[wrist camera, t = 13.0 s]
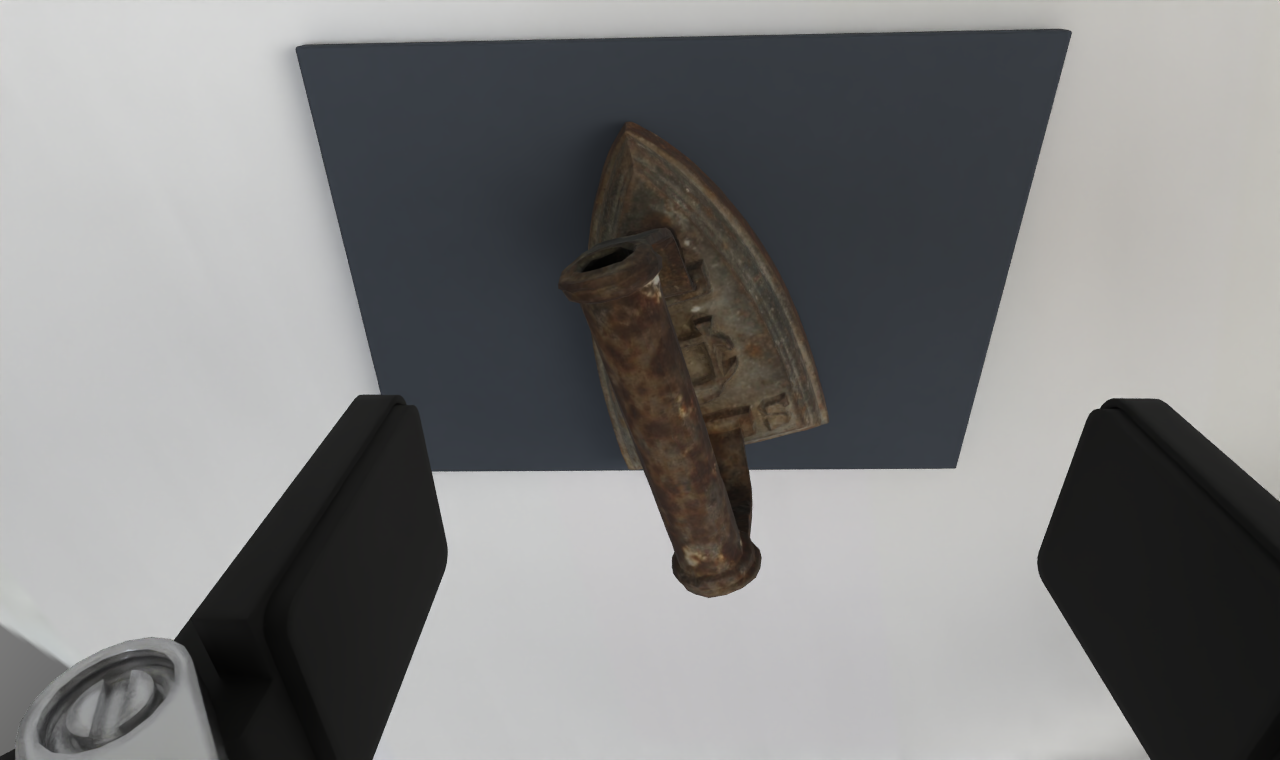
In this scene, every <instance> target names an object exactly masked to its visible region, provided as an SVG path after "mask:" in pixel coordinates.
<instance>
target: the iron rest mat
mask: <svg viewBox="0 0 1280 760" xmlns="http://www.w3.org/2000/svg"><path fill="white" fill-rule="evenodd" d="M1071 34H1072V33H1071V31H1069V30H1064V29H1036V30H988V31H940V32H892V33H844V34H796V35H749V36H701V37H653V38H605V39H557V40H509V41H461V42H414V43H366V44H318V45H302V46H298V47H296V53H297V57H298V61H299V65H300V69H301V73H302V77H303V81H304V86H305V90H306V94H307V98H308V102H309V106H310V110H311V114H312V118H313V122H314V126H315V130H316V134H317V138H318V142H319V146H320V150H321V154H322V158H323V162H324V166H325V170H326V174H327V178H328V182H329V186H330V190H331V195H332V199H333V203H334V207H335V211H336V215H337V219H338V223H339V227H340V231H341V235H342V239H343V243H344V247H345V251H346V255H347V259H348V263H349V267H350V271H351V275H352V279H353V283H354V287H355V291H356V295H357V299H358V304H359V308H360V312H361V316H362V320H363V324H364V328H365V332H366V336H367V340H368V344H369V348H370V352H371V356H372V360H373V364H374V368H375V372H376V376H377V380H378V384H379V388H380V392H381V395H400V396H402V397H403V398H404V400H405V401H406V404H407V405H414V406H416V407H417V409H418V411H419V415H420V419H421V424H422V429H423V433H424V438H425V443H426V448H427V452H428V457H429V462H430V466H431V471H603V470H630V469H628V467H627V465H626V462H625V460H624V458H623V456H622V453H621V450H620V447H619V444H618V442H617V439H616V435H615V432H614V429H613V426H612V423H611V419H610V416H609V413H608V409H607V405H606V402H605V398H604V395H603V391H602V387H601V383H600V379H599V374H598V370H597V365H596V360H595V354H594V349H593V343H592V336H591V330H590V328H589V325H588V323H587V320H586V318H585V315H584V313H583V311H582V308H581V306H580V304H579V303H575V302H571V301H569V300H568V299H567V297H566V296H565V294H564V293H563V291H562V290H561V289H558V283H559V279H560V276H561V273H562V271H563V270H564V269H565V268H566V267H567V266H568V265H570V264H571V263H572V262H574V261H575V260H576V259H577V258H578V257H579V256H580V255H581V254H582V253H584V252H586V251H588V243H589V234H590V224H591V218H592V211H593V206H594V200H595V197H596V193H597V190H598V186H599V182H600V178H601V174H602V169H603V166H604V163H605V160H606V158H607V155H608V153H609V150H610V148H611V146H612V144H613V142H614V140H615V139H616V137H617V135H618V133H619V132H620V130H621V128H622V127H623V125H624V123H625V122H633V123H635V124H638V125H640V126H641V127H643V128H645V129H647V130H649V131H651V132H653V133H654V134H656V135H658V136H659V137H661V138H662V139H664V140H665V141H666V142H668V143H669V144H671V145H672V146H673V147H675V148H676V149H678V150H679V151H680V152H681V153H683V154H684V155H685V156H687V157H688V158H689V159H690V160H691V161H692V162H694V163H695V164H696V165H697V166H698V167H699V168H700V169H701V170H702V171H703V172H704V173H705V174H706V175H707V176H708V177H709V178H710V179H711V180H712V181H713V182H714V183H715V184H716V185H717V186H718V187H719V188H720V189H721V190H722V191H723V193H724V194H725V195H726V196H727V198H728V199H729V200H730V201H731V202H732V203H733V205H734V206H735V207H736V208H737V209H738V211H739V212H740V213H741V214H742V216H743V217H744V218H745V219H746V221H747V222H748V224H749V225H750V227H751V228H752V229H753V231H754V232H755V233H756V235H757V236H758V238H759V239H760V241H761V242H762V244H763V246H764V247H765V249H766V251H767V252H768V254H769V256H770V257H771V259H772V261H773V263H774V264H775V266H776V268H777V269H778V271H779V273H780V275H781V277H782V279H783V281H784V283H785V285H786V287H787V289H788V291H789V294H790V296H791V298H792V301H793V303H794V305H795V308H796V310H797V312H798V315H799V317H800V321H801V323H802V326H803V328H804V331H805V334H806V336H807V339H808V342H809V346H810V349H811V352H812V355H813V358H814V361H815V365H816V368H817V372H818V376H819V379H820V383H821V387H822V390H823V394H824V398H825V403H826V407H827V411H828V416H829V423H827V424H823V425H820V426H818V427H815V428H811V429H808V430H804V431H800V432H795V433H791V434H787V435H784V436H780V437H776V438H772V439H768V440H764V441H760V442H756V443H751V444H746V445H745V450H746V456H747V462H748V468H749V470H773V469H944V468H956V466H957V462H958V458H959V454H960V451H961V447H962V443H963V439H964V436H965V432H966V428H967V424H968V421H969V417H970V413H971V409H972V406H973V402H974V398H975V394H976V391H977V387H978V383H979V379H980V376H981V372H982V368H983V364H984V361H985V357H986V353H987V349H988V346H989V342H990V338H991V334H992V331H993V327H994V323H995V319H996V315H997V312H998V308H999V304H1000V300H1001V297H1002V293H1003V289H1004V285H1005V282H1006V278H1007V274H1008V270H1009V267H1010V263H1011V259H1012V255H1013V252H1014V248H1015V244H1016V240H1017V237H1018V233H1019V229H1020V225H1021V222H1022V218H1023V214H1024V210H1025V207H1026V203H1027V199H1028V195H1029V192H1030V188H1031V184H1032V180H1033V177H1034V173H1035V169H1036V165H1037V162H1038V158H1039V154H1040V150H1041V147H1042V143H1043V139H1044V135H1045V132H1046V128H1047V124H1048V120H1049V117H1050V113H1051V109H1052V105H1053V102H1054V98H1055V94H1056V90H1057V87H1058V83H1059V79H1060V75H1061V72H1062V68H1063V64H1064V60H1065V57H1066V53H1067V49H1068V45H1069V42H1070V38H1071ZM639 470H643V469H639Z"/></svg>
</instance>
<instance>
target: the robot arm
mask: <svg viewBox="0 0 1280 760" xmlns="http://www.w3.org/2000/svg"><path fill="white" fill-rule="evenodd" d="M447 555H448V548H447V542H446V537H445V532H444V528H443V523H442V518H441V513H440V509H439V504H438V499H437V495H436V490H435V485H434V480H433V476H432V471H431V466H430V462H429V457H428V452H427V448H426V443H425V438H424V433H423V429H422V424H421V419H420V415H419V411H418V409H417V407H416V406H414V405H407V404H406V401H405V400H404V398H403V397H402V396H400V395H359V396H357V397H356V398H355V399H354V401H353V402H352V403H351V405H350V406H349V407H348V409H347V410H346V411H345V413H344V414H343V415H342V417H341V418H340V419H339V421H338V422H337V423H336V425H335V426H334V427H333V429H332V430H331V431H330V433H329V434H328V435H327V437H326V438H325V439H324V441H323V442H322V443H321V445H320V446H319V447H318V449H317V450H316V451H315V453H314V454H313V455H312V457H311V458H310V459H309V461H308V462H307V463H306V465H305V466H304V467H303V469H302V470H301V471H300V473H299V474H298V475H297V477H296V478H295V479H294V481H293V482H292V483H291V485H290V486H289V487H288V489H287V490H286V491H285V493H284V494H283V495H282V497H281V498H280V499H279V501H278V502H277V503H276V505H275V506H274V507H273V509H272V510H271V511H270V513H269V514H268V515H267V517H266V518H265V519H264V521H263V522H262V523H261V525H260V526H259V527H258V529H257V530H256V531H255V533H254V534H253V535H252V537H251V538H250V539H249V541H248V542H247V543H246V545H245V546H244V547H243V549H242V550H241V551H240V553H239V554H238V555H237V557H236V558H235V559H234V561H233V562H232V563H231V565H230V566H229V567H228V569H227V570H226V571H225V573H224V574H223V575H222V577H221V578H220V579H219V581H218V582H217V583H216V585H215V586H214V587H213V589H212V590H211V591H210V593H209V594H208V595H207V597H206V598H205V599H204V601H203V602H202V603H201V605H200V606H199V607H198V609H197V610H196V611H195V613H194V614H193V615H192V617H191V618H190V619H189V621H188V622H187V623H186V625H185V626H184V627H183V629H182V630H181V631H180V633H179V634H178V635H177V637H176V638H175V639H174V641H173V640H171V639H165V638H155V637H149V638H142V639H136V640H129V641H126V642H123V643H120V644H117V645H114V646H111V647H108V648H106V649H103V650H101V651H99V652H97V653H95V654H93V655H91V656H89V657H88V658H86V659H84V660H82V661H80V662H78V663H76V664H75V665H74V666H72V667H71V668H70V669H68V670H67V671H66V672H65V673H63V674H62V675H60V676H59V677H58V678H56V679H55V680H53V681H52V683H50V684H49V685H48V686H47V688H46V689H45V690H44V691H43V692H42V693H41V694H40V695H39V696H38V697H37V698H36V699H35V700H34V701H33V702H32V704H31V706H30V707H29V709H28V710H27V712H26V714H25V715H24V717H23V718H22V720H21V722H20V725H19V729H18V733H17V737H16V741H15V749H14V750H12V751H10V752H8V753H6V754H4V755H2V756H0V760H373V757H374V754H375V752H376V749H377V747H378V744H379V741H380V739H381V736H382V734H383V731H384V728H385V726H386V723H387V721H388V718H389V715H390V713H391V710H392V707H393V705H394V702H395V700H396V697H397V694H398V692H399V689H400V687H401V684H402V681H403V679H404V676H405V674H406V671H407V668H408V666H409V663H410V660H411V658H412V655H413V653H414V650H415V647H416V645H417V642H418V640H419V637H420V634H421V632H422V629H423V626H424V624H425V621H426V619H427V616H428V613H429V611H430V608H431V606H432V603H433V600H434V598H435V595H436V593H437V590H438V587H439V585H440V582H441V579H442V577H443V574H444V572H445V568H446V564H447ZM1037 564H1038V571H1039V575H1040V577H1041V579H1042V582H1043V583H1044V585H1045V587H1046V588H1047V590H1048V591H1049V593H1050V595H1051V596H1052V598H1053V600H1054V601H1055V603H1056V605H1057V606H1058V608H1059V610H1060V611H1061V613H1062V615H1063V616H1064V618H1065V619H1066V621H1067V623H1068V624H1069V626H1070V628H1071V629H1072V631H1073V633H1074V634H1075V636H1076V638H1077V639H1078V641H1079V642H1080V644H1081V646H1082V647H1083V649H1084V651H1085V652H1086V654H1087V656H1088V657H1089V659H1090V661H1091V662H1092V664H1093V665H1094V667H1095V669H1096V670H1097V672H1098V674H1099V675H1100V677H1101V679H1102V680H1103V682H1104V684H1105V685H1106V687H1107V689H1108V690H1109V692H1110V693H1111V695H1112V697H1113V698H1114V700H1115V702H1116V703H1117V705H1118V707H1119V708H1120V710H1121V712H1122V713H1123V715H1124V716H1125V718H1126V720H1127V721H1128V723H1129V725H1130V726H1131V728H1132V730H1133V731H1134V733H1135V735H1136V736H1137V738H1138V740H1139V741H1140V743H1141V744H1142V746H1143V748H1144V749H1145V751H1146V753H1147V754H1148V756H1149V758H1150V759H1151V760H1280V502H1279V501H1278V500H1277V499H1276V498H1275V497H1273V496H1272V495H1271V494H1270V493H1269V492H1268V491H1267V490H1265V489H1264V488H1263V487H1262V486H1261V485H1260V484H1259V483H1257V482H1256V481H1255V480H1254V479H1253V478H1252V477H1250V476H1249V475H1248V474H1247V473H1246V472H1245V471H1244V470H1242V469H1241V468H1240V467H1239V466H1238V465H1237V464H1236V463H1234V462H1233V461H1232V460H1231V459H1230V458H1229V457H1227V456H1226V455H1225V454H1224V453H1223V452H1222V451H1221V450H1219V449H1218V448H1217V447H1216V446H1215V445H1214V444H1213V443H1211V442H1210V441H1209V440H1208V439H1207V438H1206V437H1204V436H1203V435H1202V434H1201V433H1200V432H1199V431H1198V430H1196V429H1195V428H1194V427H1193V426H1192V425H1191V424H1190V423H1188V422H1187V421H1186V420H1185V419H1184V418H1183V417H1181V416H1180V415H1179V414H1178V413H1177V412H1176V411H1175V410H1173V409H1172V408H1171V407H1170V406H1169V405H1168V404H1167V403H1165V402H1163V401H1162V400H1160V399H1123V398H1113V399H1110V400H1107V401H1106V402H1105V403H1104V404H1103V405H1102V406H1101V408H1100V409H1096V410H1093V411H1092V412H1091V413H1090V414H1089V416H1088V418H1087V420H1086V423H1085V426H1084V429H1083V431H1082V434H1081V437H1080V440H1079V442H1078V445H1077V448H1076V451H1075V453H1074V456H1073V459H1072V462H1071V464H1070V467H1069V470H1068V473H1067V476H1066V478H1065V481H1064V484H1063V487H1062V489H1061V492H1060V495H1059V498H1058V500H1057V503H1056V506H1055V509H1054V511H1053V514H1052V517H1051V520H1050V522H1049V525H1048V528H1047V531H1046V534H1045V536H1044V539H1043V542H1042V545H1041V547H1040V550H1039V553H1038V560H1037Z"/></svg>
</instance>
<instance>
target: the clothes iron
mask: <svg viewBox="0 0 1280 760" xmlns="http://www.w3.org/2000/svg"><path fill="white" fill-rule="evenodd" d="M558 289H561V290H562V291H563V293H564V294H565V296H566V297H567V299H568V300H569V301H571V302H575V303H579V304H580V306H581V308H582V311H583V313H584V315H585V318H586V320H587V323H588V325H589V328H590V330H591V336H592V343H593V349H594V354H595V360H596V365H597V370H598V374H599V379H600V383H601V387H602V391H603V395H604V398H605V402H606V405H607V409H608V413H609V416H610V419H611V423H612V426H613V429H614V432H615V435H616V439H617V442H618V444H619V447H620V450H621V453H622V456H623V458H624V460H625V462H626V465H627V467H628V469H630V470H639V469H643V470H644V473H645V475H646V478H647V480H648V482H649V485H650V487H651V490H652V493H653V495H654V498H655V501H656V504H657V506H658V509H659V512H660V514H661V517H662V520H663V522H664V525H665V528H666V530H667V533H668V535H669V538H670V540H671V543H672V545H673V548H674V551H675V552H674V555H673V557H672V569H673V574H674V575H675V577H676V578H677V579H678V581H679V582H680V583H682V584H683V585H684V587H685V588H686V589H687V590H688V591H690V592H692V593H694V594H696V595H700V596H704V597H708V598H711V597H717V596H722V595H727V594H729V593H732V592H734V591H736V590H739V589H741V588H743V587H744V586H746V585H747V584H748V583H749V582H751V581H752V580H753V579H755V578H756V576H757V574H758V572H759V570H760V566H761V558H762V557H761V554H760V550H759V549H758V548H757V547H756V546H755V544H754V543H753V542H752V541H751V539H750V531H751V520H752V488H751V482H750V475H749V468H748V462H747V456H746V450H745V445H746V444H751V443H756V442H760V441H764V440H768V439H772V438H776V437H780V436H784V435H787V434H791V433H795V432H800V431H804V430H808V429H811V428H815V427H818V426H820V425H823V424H827V423H829V416H828V411H827V407H826V403H825V398H824V394H823V390H822V387H821V383H820V379H819V376H818V372H817V368H816V365H815V361H814V358H813V355H812V352H811V349H810V346H809V342H808V339H807V336H806V334H805V331H804V328H803V326H802V323H801V321H800V317H799V315H798V312H797V310H796V308H795V305H794V303H793V301H792V298H791V296H790V294H789V291H788V289H787V287H786V285H785V283H784V281H783V279H782V277H781V275H780V273H779V271H778V269H777V268H776V266H775V264H774V263H773V261H772V259H771V257H770V256H769V254H768V252H767V251H766V249H765V247H764V246H763V244H762V242H761V241H760V239H759V238H758V236H757V235H756V233H755V232H754V231H753V229H752V228H751V227H750V225H749V224H748V222H747V221H746V219H745V218H744V217H743V216H742V214H741V213H740V212H739V211H738V209H737V208H736V207H735V206H734V205H733V203H732V202H731V201H730V200H729V199H728V198H727V196H726V195H725V194H724V193H723V191H722V190H721V189H720V188H719V187H718V186H717V185H716V184H715V183H714V182H713V181H712V180H711V179H710V178H709V177H708V176H707V175H706V174H705V173H704V172H703V171H702V170H701V169H700V168H699V167H698V166H697V165H696V164H695V163H694V162H692V161H691V160H690V159H689V158H688V157H687V156H685V155H684V154H683V153H681V152H680V151H679V150H678V149H676V148H675V147H673V146H672V145H671V144H669V143H668V142H666V141H665V140H664V139H662V138H661V137H659V136H658V135H656V134H654V133H653V132H651V131H649V130H647V129H645V128H643V127H641V126H640V125H638V124H635V123H633V122H625V123H624V125H623V127H622V128H621V130H620V132H619V133H618V135H617V137H616V139H615V140H614V142H613V144H612V146H611V148H610V150H609V153H608V155H607V158H606V160H605V163H604V166H603V169H602V174H601V178H600V182H599V186H598V190H597V193H596V197H595V200H594V206H593V211H592V218H591V224H590V234H589V243H588V251H586V252H584V253H582V254H581V255H580V256H579V257H578V258H577V259H576V260H575V261H574V262H572V263H571V264H570V265H568V266H567V267H566V268H565V269H564V270H563V271H562V273H561V276H560V279H559V283H558Z"/></svg>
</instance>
